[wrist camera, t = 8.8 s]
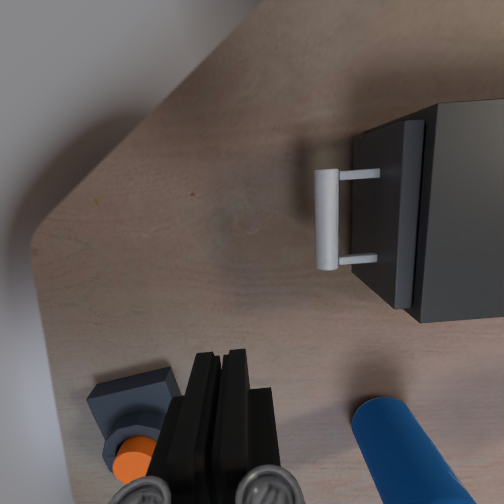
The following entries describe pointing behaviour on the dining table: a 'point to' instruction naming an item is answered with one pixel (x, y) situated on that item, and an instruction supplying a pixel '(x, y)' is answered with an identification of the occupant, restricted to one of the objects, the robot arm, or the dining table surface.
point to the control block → (132, 408)
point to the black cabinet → (460, 212)
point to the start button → (133, 458)
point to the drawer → (377, 211)
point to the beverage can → (404, 456)
